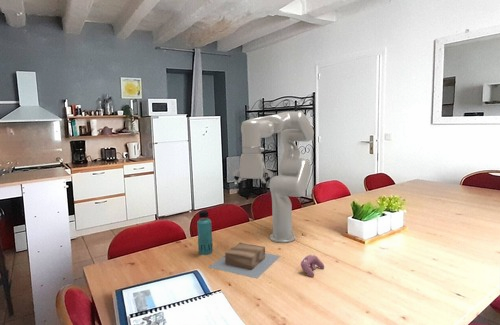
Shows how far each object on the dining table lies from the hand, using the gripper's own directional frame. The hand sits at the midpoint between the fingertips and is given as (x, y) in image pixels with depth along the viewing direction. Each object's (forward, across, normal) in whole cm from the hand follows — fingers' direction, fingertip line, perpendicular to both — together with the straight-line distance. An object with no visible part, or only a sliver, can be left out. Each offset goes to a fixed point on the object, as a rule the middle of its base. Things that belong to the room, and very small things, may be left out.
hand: (252, 191), depth 135 cm
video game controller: (+30, -25, +6) cm, 39 cm away
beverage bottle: (+30, +22, 0) cm, 37 cm away
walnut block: (+28, +2, +6) cm, 29 cm away
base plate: (+30, +2, +6) cm, 30 cm away
